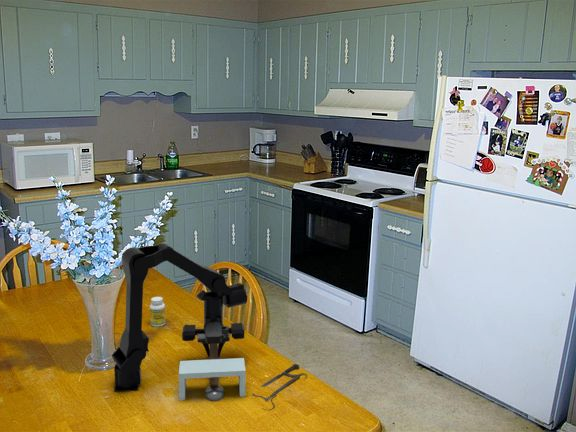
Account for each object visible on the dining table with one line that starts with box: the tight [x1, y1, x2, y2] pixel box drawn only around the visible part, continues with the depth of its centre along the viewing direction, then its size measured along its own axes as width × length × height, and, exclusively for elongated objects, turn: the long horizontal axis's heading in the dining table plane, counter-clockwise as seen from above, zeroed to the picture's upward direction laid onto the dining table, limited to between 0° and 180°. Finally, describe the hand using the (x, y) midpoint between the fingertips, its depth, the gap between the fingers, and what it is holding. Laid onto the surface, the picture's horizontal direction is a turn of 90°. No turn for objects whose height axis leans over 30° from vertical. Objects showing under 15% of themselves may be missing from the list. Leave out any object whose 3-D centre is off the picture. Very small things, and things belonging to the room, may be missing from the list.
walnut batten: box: [209, 343, 220, 386], centre depth 163 cm, size 2×20×5 cm, turn 8°
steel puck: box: [205, 385, 225, 402], centre depth 151 cm, size 5×5×2 cm
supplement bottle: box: [149, 296, 167, 328], centre depth 194 cm, size 5×5×10 cm
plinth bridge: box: [178, 357, 246, 401], centre depth 153 cm, size 18×7×8 cm, turn 98°
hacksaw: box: [251, 363, 308, 411], centre depth 157 cm, size 24×10×2 cm, turn 140°
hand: (213, 356), depth 170 cm, fingers closed on walnut batten, 2 cm apart
